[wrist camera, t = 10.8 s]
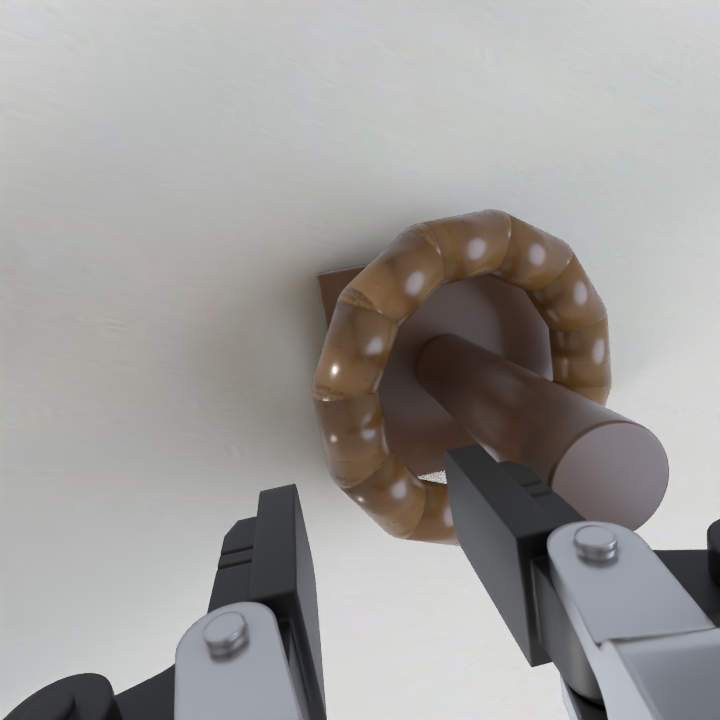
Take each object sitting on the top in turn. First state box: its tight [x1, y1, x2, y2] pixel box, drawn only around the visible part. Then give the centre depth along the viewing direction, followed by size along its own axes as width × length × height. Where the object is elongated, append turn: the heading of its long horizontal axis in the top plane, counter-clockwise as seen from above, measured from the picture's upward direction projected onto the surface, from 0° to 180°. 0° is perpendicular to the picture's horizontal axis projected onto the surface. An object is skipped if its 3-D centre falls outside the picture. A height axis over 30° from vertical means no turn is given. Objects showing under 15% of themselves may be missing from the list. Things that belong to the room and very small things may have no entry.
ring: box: [312, 210, 611, 546], centre depth 18 cm, size 11×11×2 cm
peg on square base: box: [316, 264, 669, 531], centre depth 16 cm, size 9×9×12 cm
